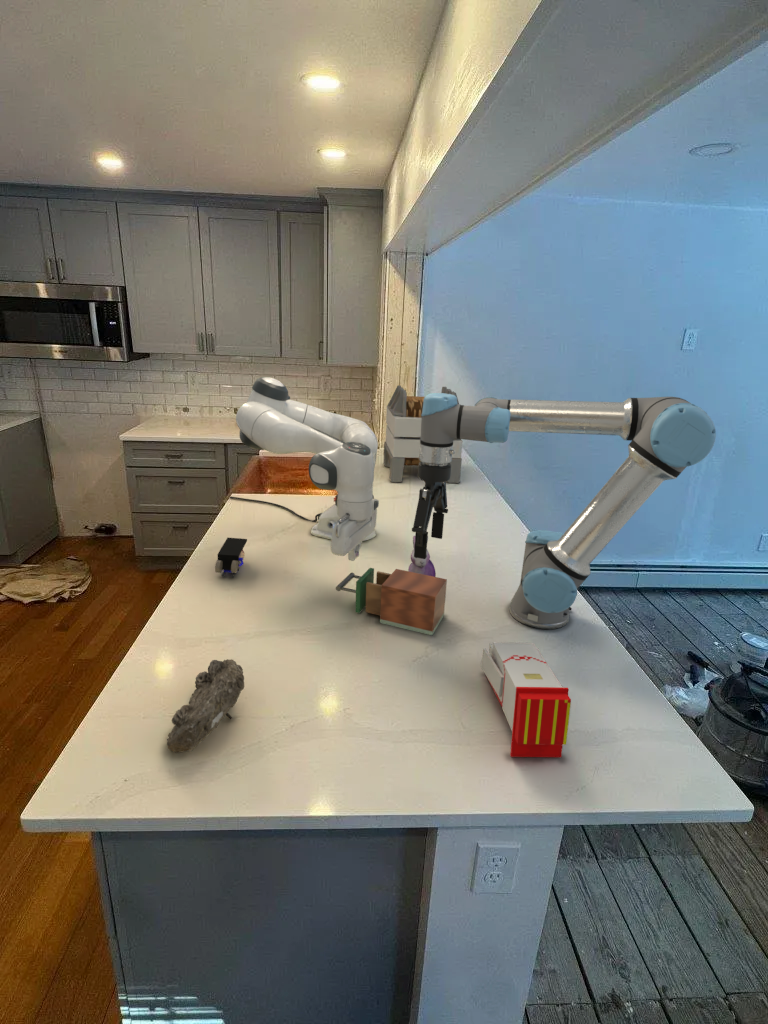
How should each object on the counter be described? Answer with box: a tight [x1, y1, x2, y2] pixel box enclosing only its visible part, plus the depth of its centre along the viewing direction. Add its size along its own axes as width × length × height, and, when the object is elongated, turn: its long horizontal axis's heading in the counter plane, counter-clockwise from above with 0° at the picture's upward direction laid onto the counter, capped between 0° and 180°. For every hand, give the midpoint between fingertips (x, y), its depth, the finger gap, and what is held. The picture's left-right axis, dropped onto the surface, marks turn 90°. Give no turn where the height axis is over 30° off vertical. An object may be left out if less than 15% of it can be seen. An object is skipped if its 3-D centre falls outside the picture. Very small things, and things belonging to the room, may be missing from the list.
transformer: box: [383, 384, 464, 484], centre depth 268 cm, size 34×33×41 cm
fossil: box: [166, 658, 245, 754], centre depth 106 cm, size 22×10×15 cm
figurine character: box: [214, 537, 248, 578], centre depth 166 cm, size 7×8×15 cm
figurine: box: [407, 535, 437, 577], centre depth 161 cm, size 9×10×15 cm
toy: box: [480, 641, 572, 758], centre depth 113 cm, size 12×13×30 cm
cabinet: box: [379, 568, 448, 636], centre depth 144 cm, size 14×10×11 cm
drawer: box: [335, 567, 392, 616], centre depth 147 cm, size 18×9×9 cm, turn 69°
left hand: (353, 558), depth 146 cm, fingers closed
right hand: (428, 547), depth 137 cm, fingers open, 13 cm apart
